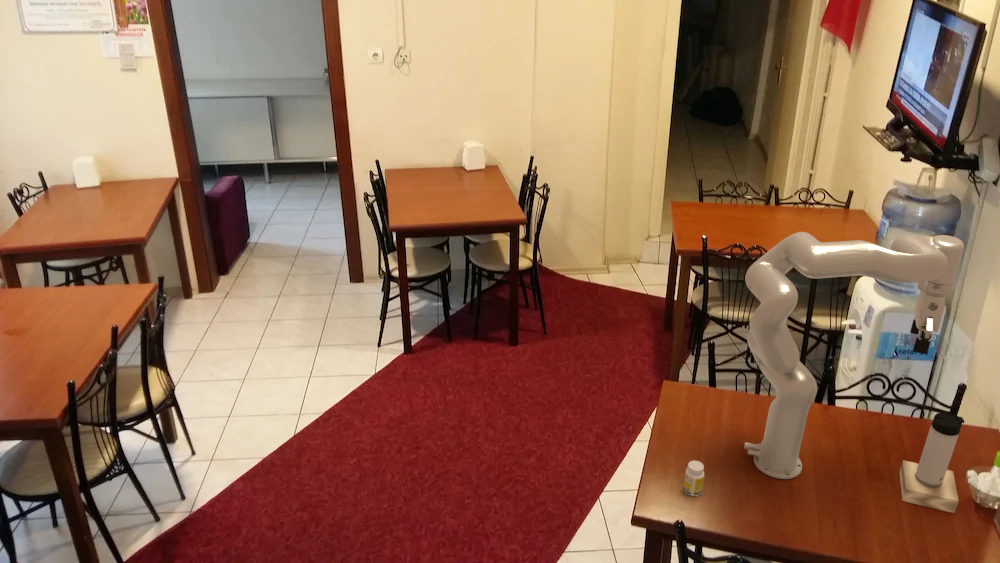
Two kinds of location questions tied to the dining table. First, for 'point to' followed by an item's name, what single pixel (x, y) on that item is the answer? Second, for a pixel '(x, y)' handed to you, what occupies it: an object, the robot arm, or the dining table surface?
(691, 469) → the supplement bottle
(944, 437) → the travel mug
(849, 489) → the dining table surface
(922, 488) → the plinth
